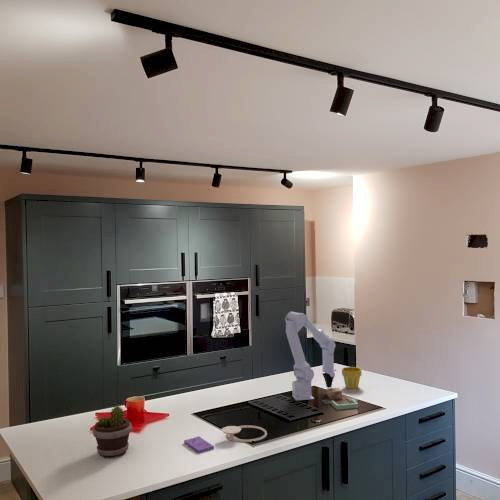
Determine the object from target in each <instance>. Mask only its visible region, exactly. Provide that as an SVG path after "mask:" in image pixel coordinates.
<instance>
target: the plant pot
mask: <svg viewBox="0 0 500 500" xmlns="http://www.w3.org/2000/svg"><path fill="white" fill-rule="evenodd" d="M341 375H342V377H343V381H344V385H345V388H347V389H351V390H352V389H358V388H359V384H360V379H361V377H362V369H361V368H360V367H356V366H345V367H343V368H341Z"/></svg>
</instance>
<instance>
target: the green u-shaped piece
mask: <svg viewBox="0 0 500 500" xmlns="http://www.w3.org/2000/svg"><path fill="white" fill-rule="evenodd" d="M346 400H347V401H349V402H350V403H343V404H338V403H337V402H335V401H334V399H330V398H328V399H322V400H321V402H322V403H323V404H324V405H325V406H326V405H331V406H333V408H335V410H337V411H338V410H347V409H349V410H350V409H358V408H359V403H358V400H357V399H356V398H354V397H353V396H352V397H346Z"/></svg>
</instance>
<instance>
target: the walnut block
mask: <svg viewBox="0 0 500 500" xmlns="http://www.w3.org/2000/svg"><path fill="white" fill-rule="evenodd" d="M326 390H327V391H326V392H327V393H326V395H327V397H328V399H329V400H343V390H341V388H340V387H330V388H326Z"/></svg>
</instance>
